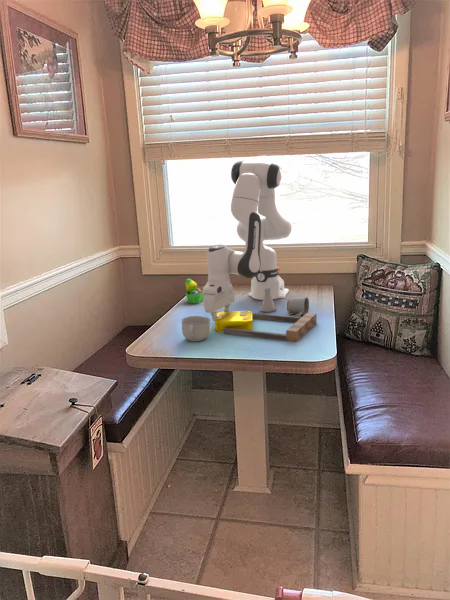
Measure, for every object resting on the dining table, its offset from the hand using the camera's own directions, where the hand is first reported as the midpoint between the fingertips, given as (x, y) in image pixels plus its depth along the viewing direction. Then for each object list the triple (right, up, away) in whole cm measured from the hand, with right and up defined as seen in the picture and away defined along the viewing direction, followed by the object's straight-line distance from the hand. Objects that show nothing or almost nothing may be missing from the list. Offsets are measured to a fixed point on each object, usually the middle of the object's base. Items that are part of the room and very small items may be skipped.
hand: (220, 317), depth 213 cm
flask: (+21, +2, +16) cm, 27 cm away
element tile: (+6, -4, -3) cm, 7 cm away
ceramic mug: (+33, +1, +7) cm, 34 cm away
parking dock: (+20, -4, -9) cm, 22 cm away
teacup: (-10, -8, -18) cm, 22 cm away
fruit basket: (-13, +7, +39) cm, 42 cm away
